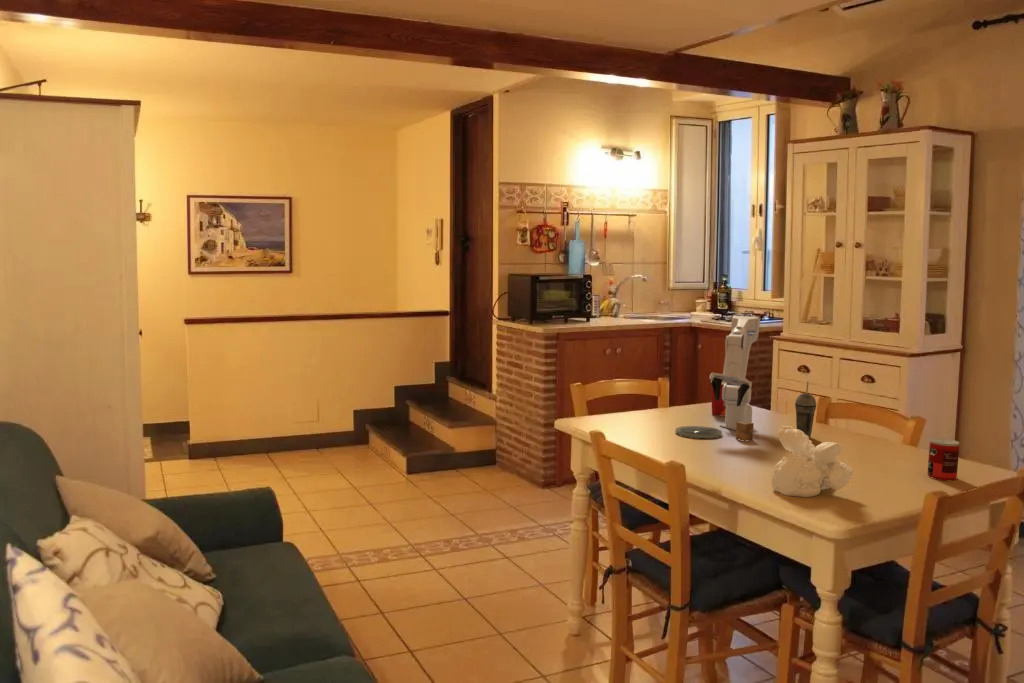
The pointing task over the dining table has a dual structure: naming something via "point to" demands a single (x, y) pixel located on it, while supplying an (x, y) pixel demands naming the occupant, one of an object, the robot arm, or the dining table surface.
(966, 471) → the dining table surface
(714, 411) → the paper cup
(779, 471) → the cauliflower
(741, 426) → the walnut block
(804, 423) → the beverage cup
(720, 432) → the dish
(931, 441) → the canned food
